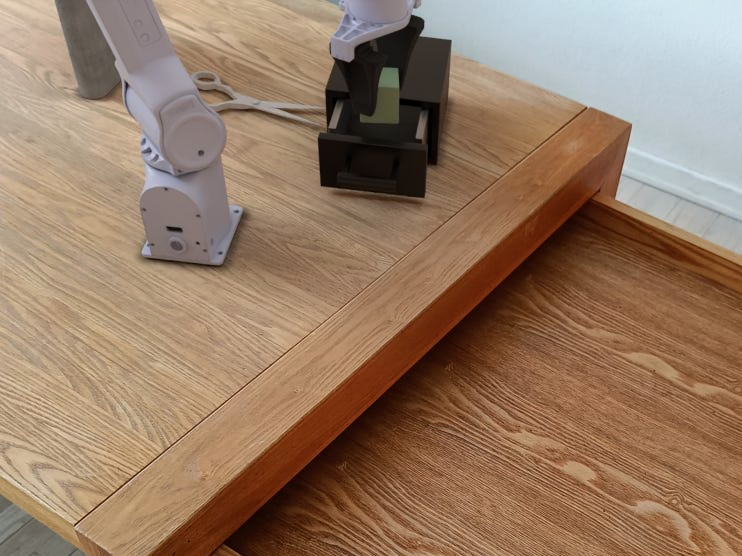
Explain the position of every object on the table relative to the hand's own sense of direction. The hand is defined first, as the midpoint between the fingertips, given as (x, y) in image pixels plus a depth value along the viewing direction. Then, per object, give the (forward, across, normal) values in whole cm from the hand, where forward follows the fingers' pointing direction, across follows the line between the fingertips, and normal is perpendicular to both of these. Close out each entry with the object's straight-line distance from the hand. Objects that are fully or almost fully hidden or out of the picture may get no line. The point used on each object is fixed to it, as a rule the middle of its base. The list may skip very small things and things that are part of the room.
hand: (378, 100), depth 93 cm
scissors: (+9, -4, -20) cm, 22 cm away
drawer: (+8, 0, 0) cm, 8 cm away
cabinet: (+9, -10, -4) cm, 14 cm away
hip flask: (+9, -2, -39) cm, 40 cm away
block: (+1, 0, 0) cm, 1 cm away
